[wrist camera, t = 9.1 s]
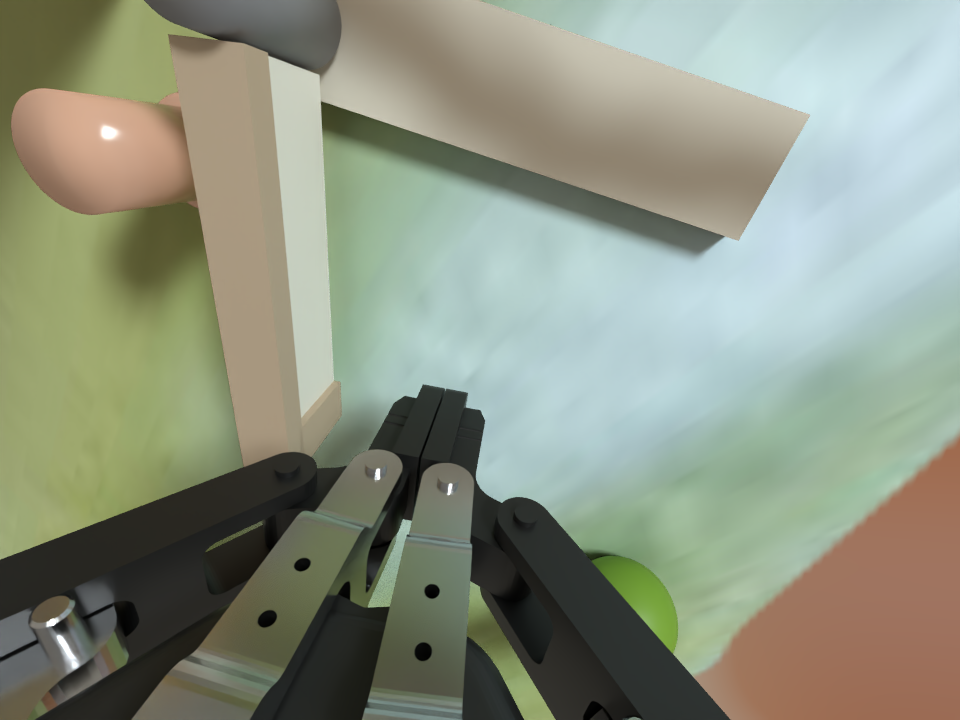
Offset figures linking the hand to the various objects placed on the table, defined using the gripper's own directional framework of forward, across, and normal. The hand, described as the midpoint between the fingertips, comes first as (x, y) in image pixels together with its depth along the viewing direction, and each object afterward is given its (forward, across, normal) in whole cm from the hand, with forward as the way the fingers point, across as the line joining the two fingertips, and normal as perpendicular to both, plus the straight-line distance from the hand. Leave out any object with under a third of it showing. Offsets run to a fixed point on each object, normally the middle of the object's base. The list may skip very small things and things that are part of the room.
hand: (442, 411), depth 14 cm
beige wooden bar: (+4, +6, -4) cm, 8 cm away
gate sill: (+6, 0, -10) cm, 11 cm away
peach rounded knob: (+6, +11, -6) cm, 13 cm away
